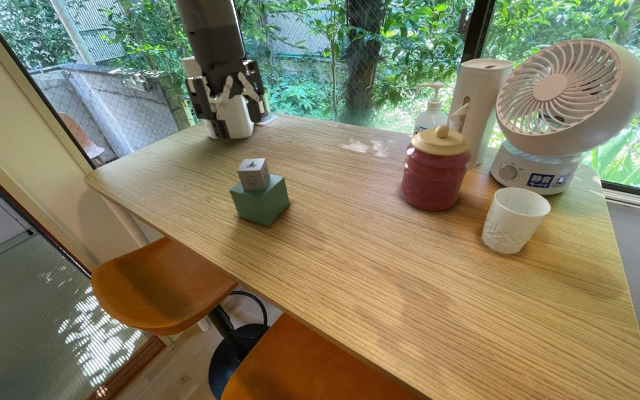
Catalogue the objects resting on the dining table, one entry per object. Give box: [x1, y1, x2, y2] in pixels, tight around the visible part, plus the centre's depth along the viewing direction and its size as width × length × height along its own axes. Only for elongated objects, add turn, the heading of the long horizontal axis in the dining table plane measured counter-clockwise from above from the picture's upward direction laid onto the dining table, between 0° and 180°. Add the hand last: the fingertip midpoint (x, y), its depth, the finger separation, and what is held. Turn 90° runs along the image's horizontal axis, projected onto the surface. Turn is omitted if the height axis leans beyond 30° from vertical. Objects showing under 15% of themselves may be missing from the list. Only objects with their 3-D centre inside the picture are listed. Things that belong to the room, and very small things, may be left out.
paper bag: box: [180, 55, 255, 140], centre depth 95 cm, size 19×15×28 cm
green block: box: [228, 173, 290, 227], centre depth 60 cm, size 9×9×8 cm
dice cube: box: [236, 157, 271, 190], centre depth 56 cm, size 5×5×5 cm
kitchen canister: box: [400, 124, 473, 212], centre depth 56 cm, size 13×13×18 cm
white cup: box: [480, 186, 552, 255], centre depth 46 cm, size 8×8×10 cm
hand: (241, 130), depth 47 cm, fingers open, 8 cm apart
